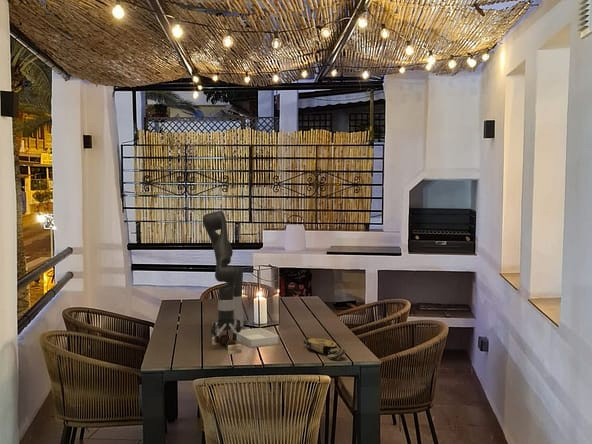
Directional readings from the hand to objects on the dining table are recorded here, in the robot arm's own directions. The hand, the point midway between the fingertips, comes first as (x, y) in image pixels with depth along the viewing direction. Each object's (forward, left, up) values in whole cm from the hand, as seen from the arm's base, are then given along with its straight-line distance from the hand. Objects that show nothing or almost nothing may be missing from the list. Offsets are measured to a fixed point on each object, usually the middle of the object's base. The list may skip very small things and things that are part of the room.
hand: (225, 342), depth 288 cm
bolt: (-2, 0, -3) cm, 4 cm away
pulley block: (-38, +29, -3) cm, 48 cm away
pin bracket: (0, 0, -3) cm, 3 cm away
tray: (-18, -5, -3) cm, 19 cm away
